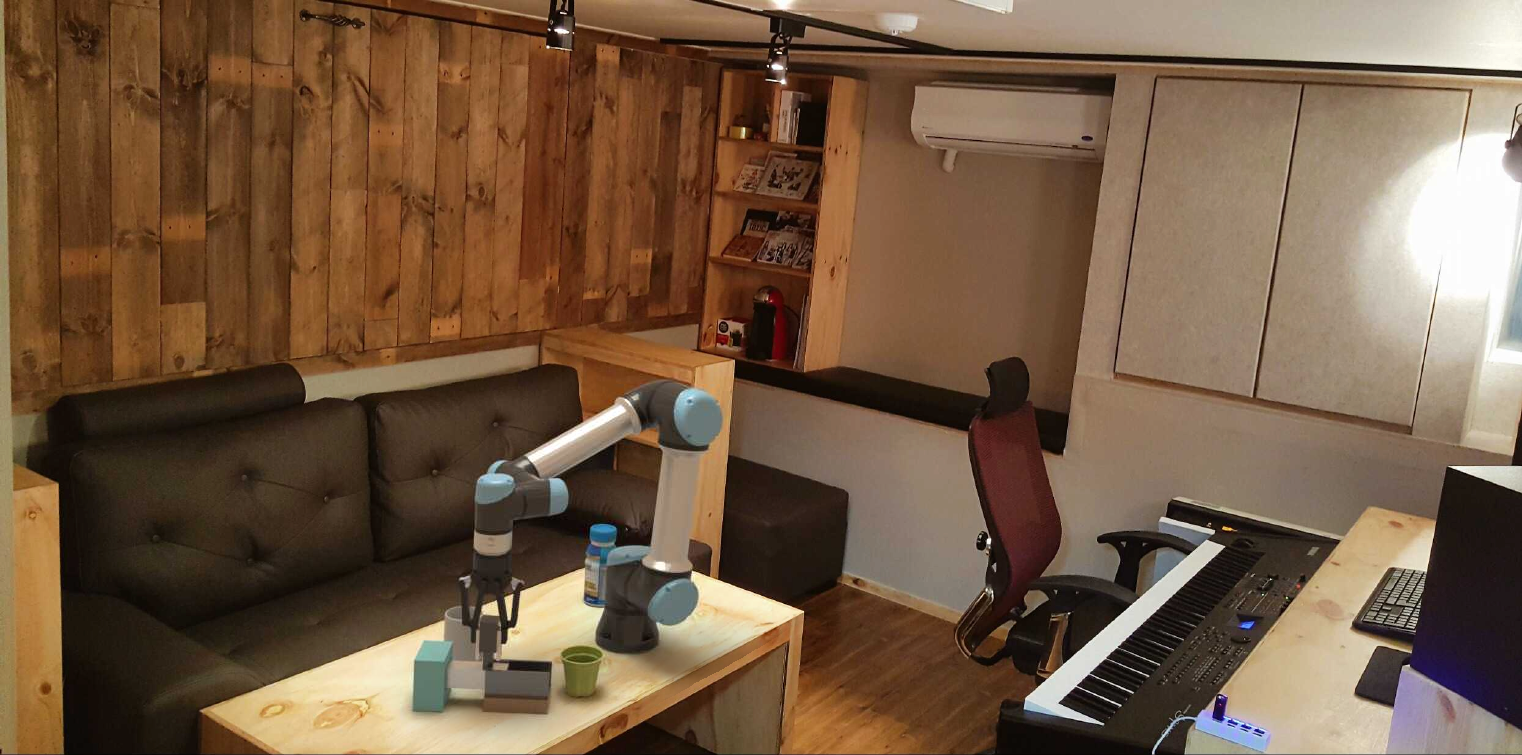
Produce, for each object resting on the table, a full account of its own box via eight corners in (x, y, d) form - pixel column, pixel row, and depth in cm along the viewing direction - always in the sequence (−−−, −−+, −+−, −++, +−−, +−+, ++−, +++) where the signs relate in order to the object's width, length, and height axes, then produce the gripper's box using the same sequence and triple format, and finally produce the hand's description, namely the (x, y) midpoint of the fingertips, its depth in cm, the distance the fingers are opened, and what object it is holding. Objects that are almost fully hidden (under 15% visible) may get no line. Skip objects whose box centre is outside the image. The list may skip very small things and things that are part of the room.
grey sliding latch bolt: (508, 681, 252) (511, 616, 250) (505, 690, 248) (508, 624, 246) (430, 678, 251) (432, 612, 248) (426, 687, 247) (428, 620, 244)
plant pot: (582, 705, 253) (584, 667, 251) (548, 692, 258) (550, 654, 256) (610, 690, 261) (613, 653, 259) (577, 678, 266) (579, 641, 264)
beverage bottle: (613, 609, 306) (617, 534, 302) (580, 606, 306) (584, 531, 302) (617, 597, 314) (622, 524, 311) (585, 594, 314) (589, 521, 311)
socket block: (451, 690, 255) (453, 641, 253) (442, 711, 245) (444, 661, 243) (422, 688, 254) (424, 640, 252) (412, 710, 245) (414, 660, 243)
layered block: (550, 696, 256) (552, 659, 254) (546, 713, 248) (548, 675, 246) (488, 693, 255) (490, 656, 253) (483, 711, 247) (484, 672, 245)
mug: (455, 670, 265) (457, 623, 263) (435, 656, 271) (437, 610, 268) (502, 657, 273) (504, 611, 271) (482, 644, 279) (484, 599, 277)
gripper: (447, 554, 240) (444, 663, 245) (531, 558, 242) (526, 666, 246) (454, 541, 248) (451, 648, 252) (535, 545, 249) (531, 651, 253)
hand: (488, 657), depth 249 cm, fingers closed on grey sliding latch bolt, 3 cm apart
